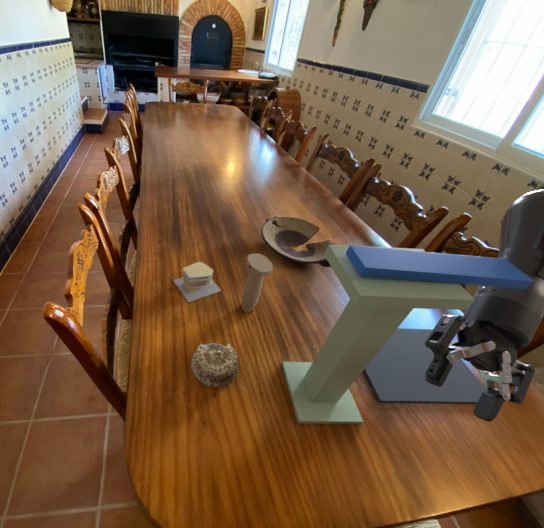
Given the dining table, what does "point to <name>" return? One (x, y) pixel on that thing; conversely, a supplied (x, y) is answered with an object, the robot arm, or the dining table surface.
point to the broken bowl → (294, 240)
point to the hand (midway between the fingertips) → (457, 401)
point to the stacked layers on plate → (197, 282)
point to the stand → (359, 337)
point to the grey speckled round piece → (215, 364)
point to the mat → (417, 373)
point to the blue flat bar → (436, 267)
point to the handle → (255, 279)
